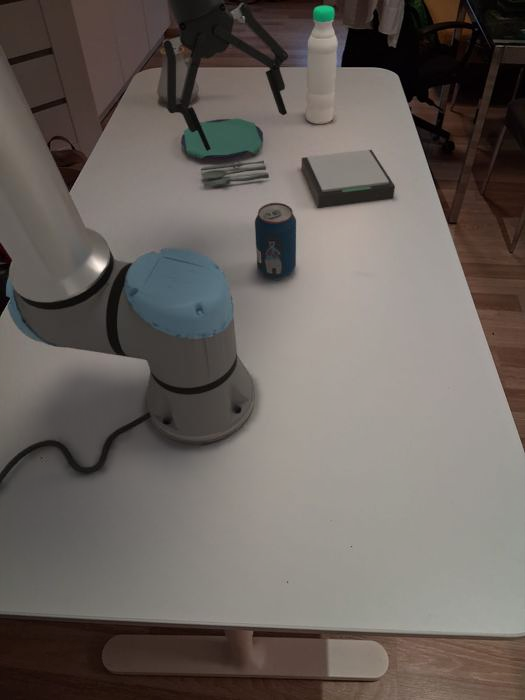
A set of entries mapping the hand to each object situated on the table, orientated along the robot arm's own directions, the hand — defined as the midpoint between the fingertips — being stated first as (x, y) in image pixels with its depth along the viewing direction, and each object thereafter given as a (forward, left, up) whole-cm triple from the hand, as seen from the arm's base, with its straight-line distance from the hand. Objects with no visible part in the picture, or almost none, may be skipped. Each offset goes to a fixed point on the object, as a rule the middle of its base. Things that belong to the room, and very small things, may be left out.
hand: (245, 130), depth 88 cm
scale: (+23, +16, -21) cm, 35 cm away
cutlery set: (-1, +35, -21) cm, 41 cm away
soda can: (+3, -10, -21) cm, 24 cm away
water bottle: (+25, +48, -21) cm, 58 cm away
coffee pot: (-5, +68, -22) cm, 71 cm away
